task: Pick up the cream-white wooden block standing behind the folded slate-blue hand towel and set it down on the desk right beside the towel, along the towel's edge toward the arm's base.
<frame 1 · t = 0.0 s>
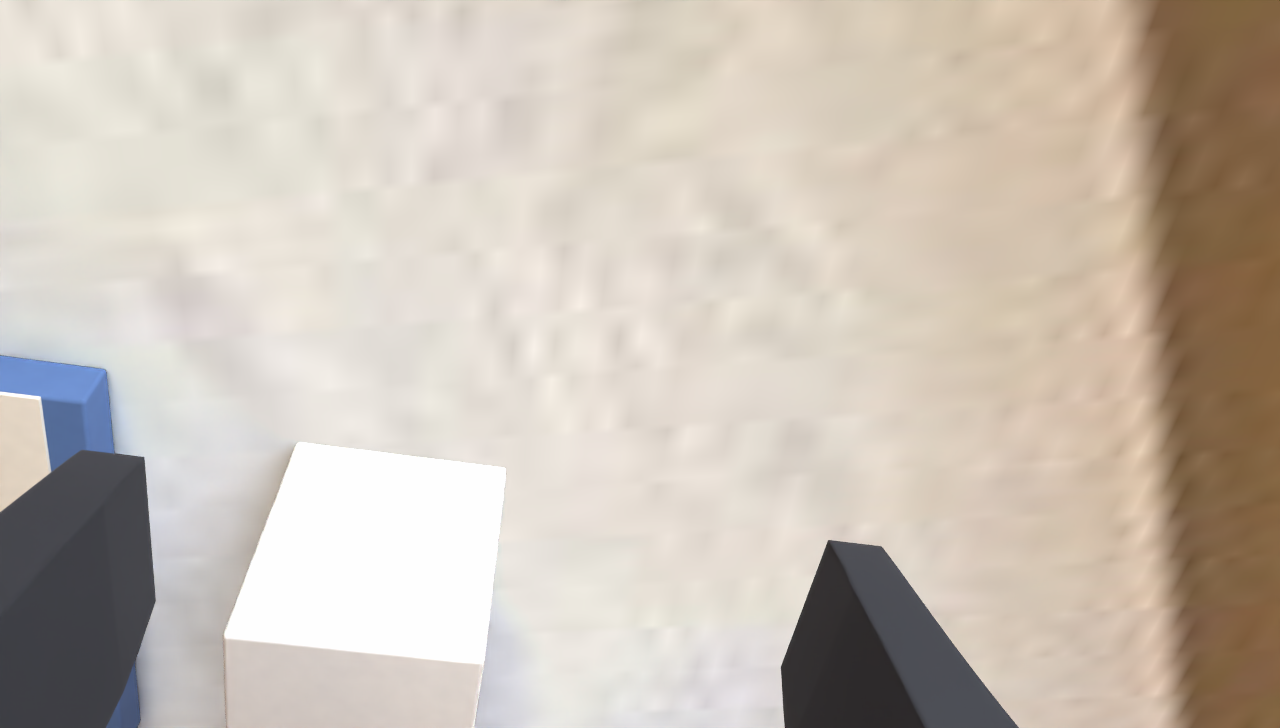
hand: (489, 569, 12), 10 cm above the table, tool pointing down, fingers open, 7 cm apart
white block: (396, 530, 25), on the table
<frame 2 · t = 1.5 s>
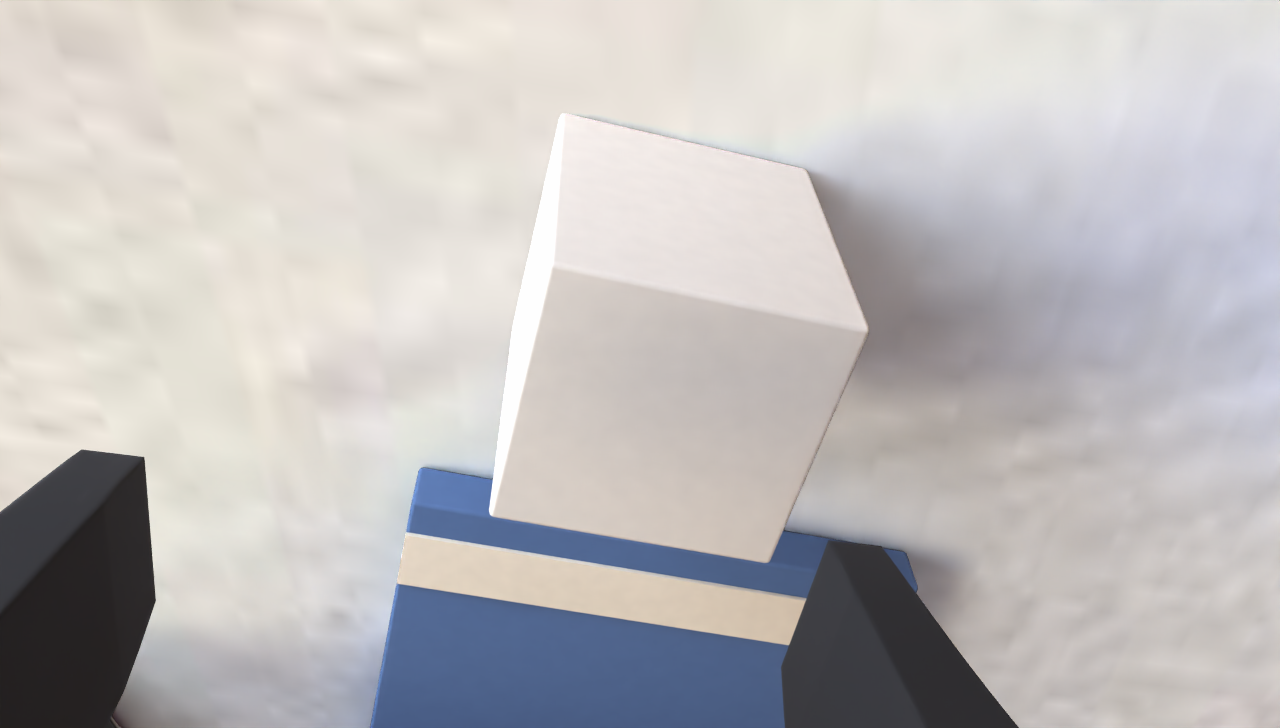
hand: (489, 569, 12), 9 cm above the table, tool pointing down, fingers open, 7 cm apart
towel: (599, 715, 27), on the table
white block: (654, 251, 20), on the table
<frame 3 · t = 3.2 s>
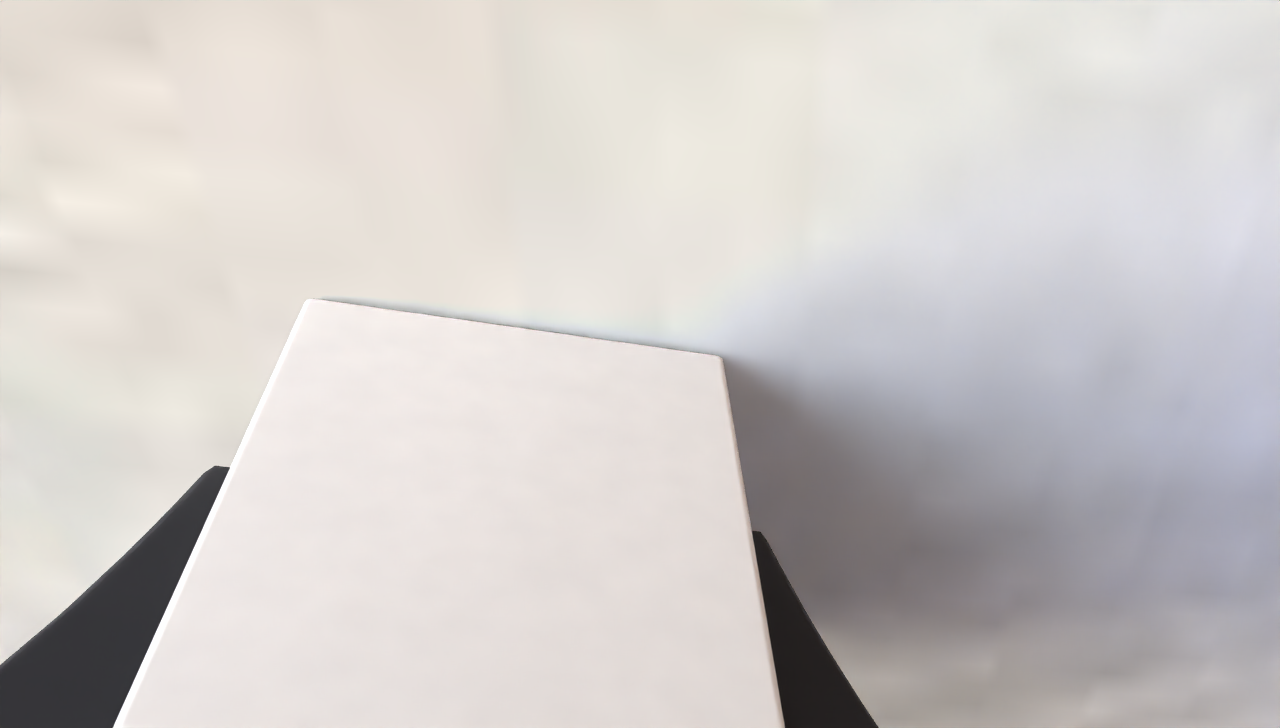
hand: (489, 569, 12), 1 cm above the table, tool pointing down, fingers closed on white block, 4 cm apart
white block: (496, 485, 13), on the table, touching gripper
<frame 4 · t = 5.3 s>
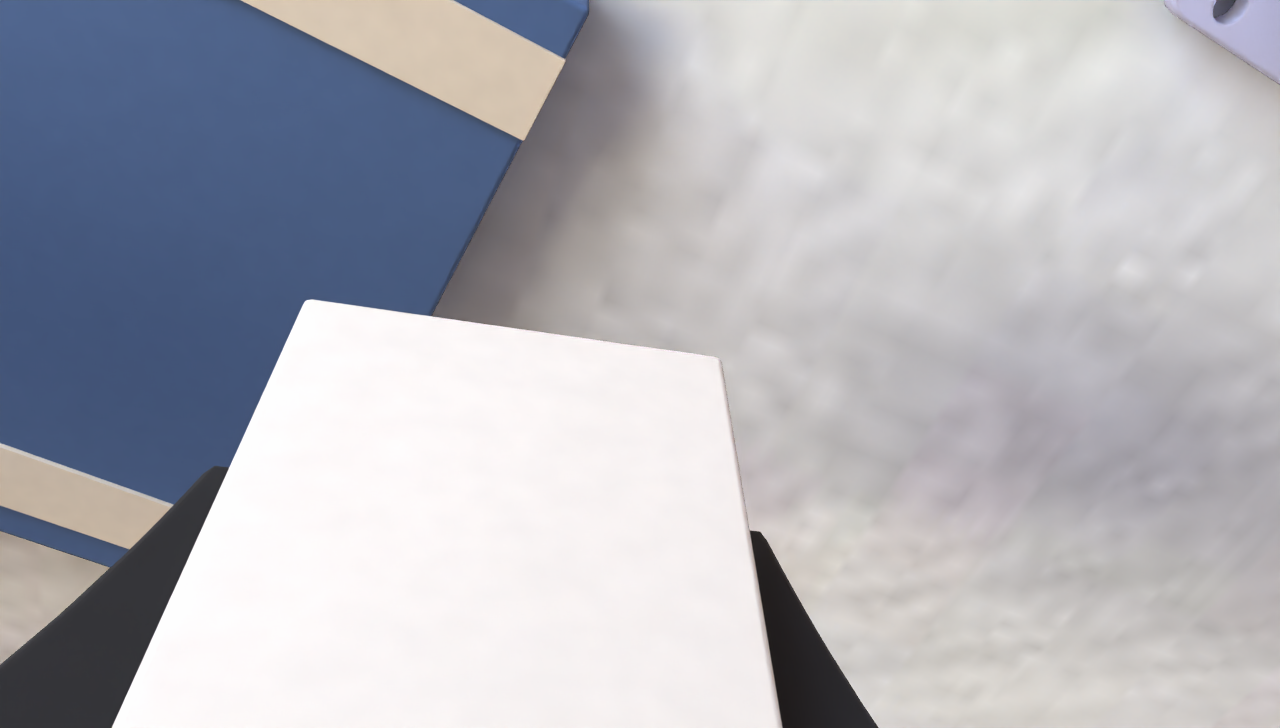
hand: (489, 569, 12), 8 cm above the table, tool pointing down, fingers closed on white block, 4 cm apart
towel: (107, 202, 18), on the table
white block: (495, 485, 13), point 7 cm above the table, touching gripper
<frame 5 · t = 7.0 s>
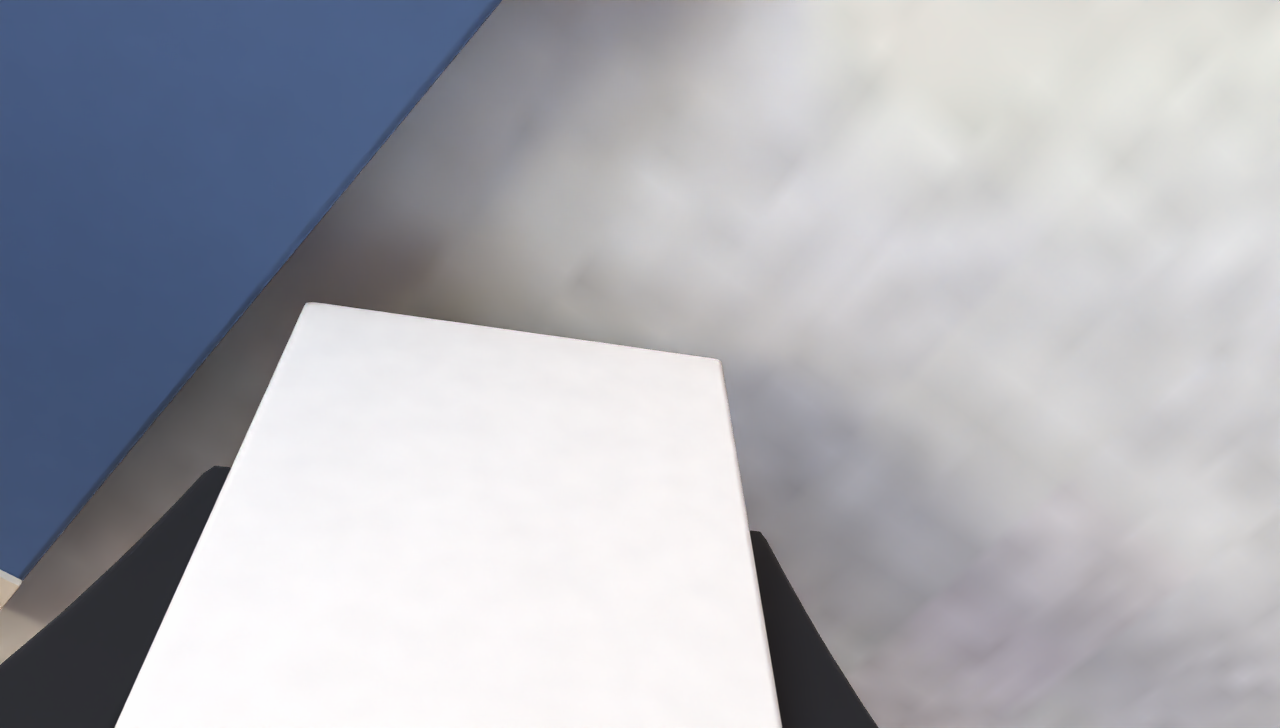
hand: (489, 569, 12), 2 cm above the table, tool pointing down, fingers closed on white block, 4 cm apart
white block: (495, 487, 13), point 1 cm above the table, touching gripper
when the fingers open (1 cm above the table, at t = 7.8 s): white block stays where it is, on the table.
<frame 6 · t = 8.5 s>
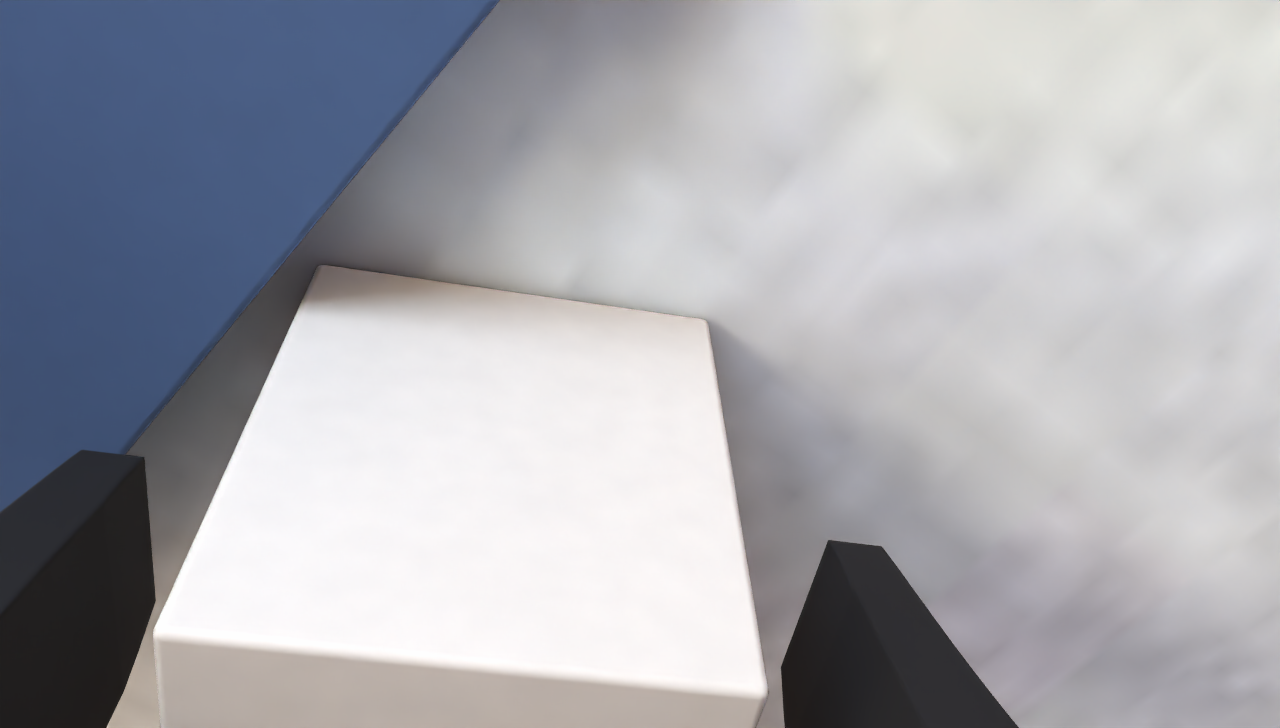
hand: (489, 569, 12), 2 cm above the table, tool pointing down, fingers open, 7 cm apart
white block: (495, 444, 14), on the table
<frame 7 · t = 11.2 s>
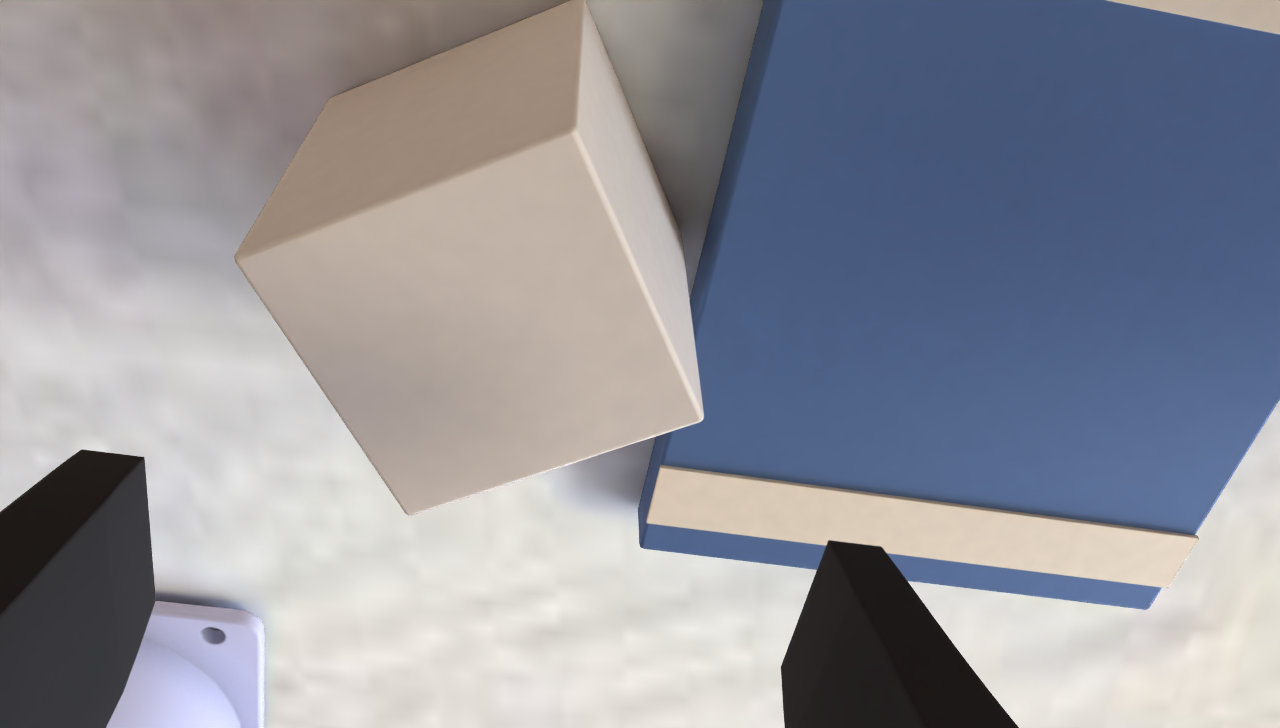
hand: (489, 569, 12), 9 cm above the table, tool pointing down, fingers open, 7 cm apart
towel: (1009, 256, 20), on the table
white block: (512, 170, 18), on the table
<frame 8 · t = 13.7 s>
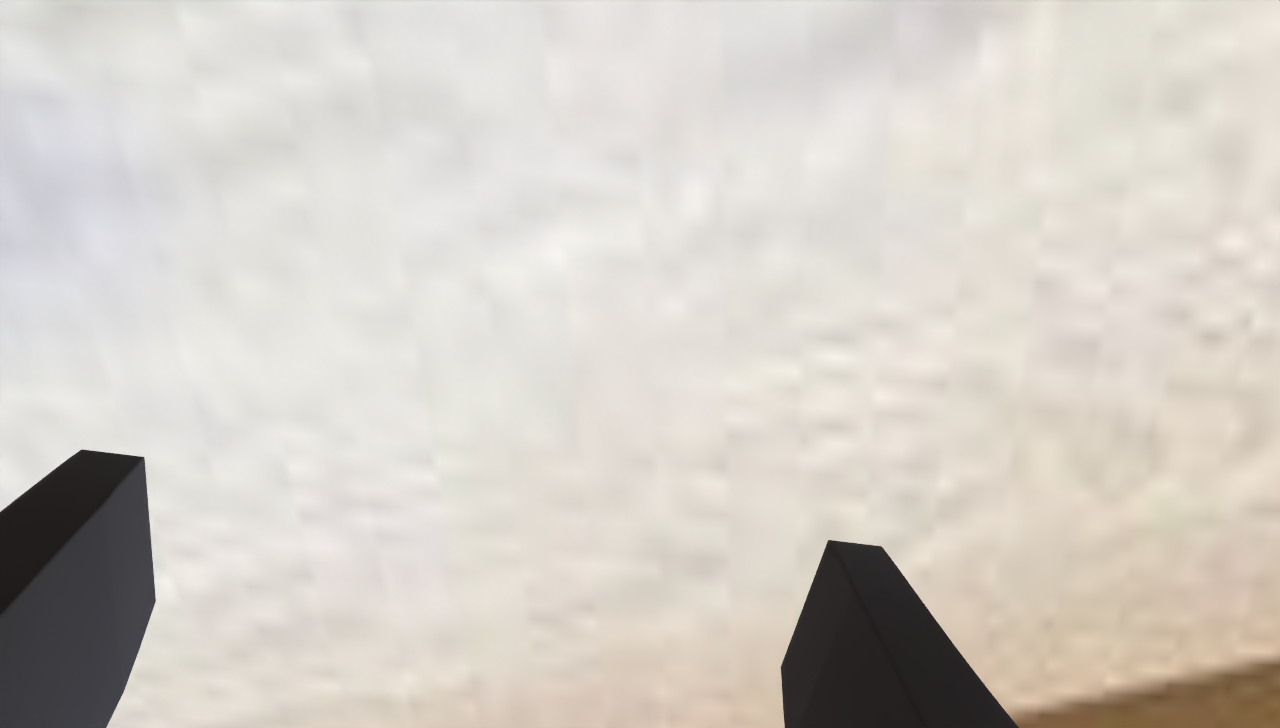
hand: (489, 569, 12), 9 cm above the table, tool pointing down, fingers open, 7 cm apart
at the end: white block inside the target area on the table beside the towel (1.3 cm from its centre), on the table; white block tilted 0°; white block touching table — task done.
